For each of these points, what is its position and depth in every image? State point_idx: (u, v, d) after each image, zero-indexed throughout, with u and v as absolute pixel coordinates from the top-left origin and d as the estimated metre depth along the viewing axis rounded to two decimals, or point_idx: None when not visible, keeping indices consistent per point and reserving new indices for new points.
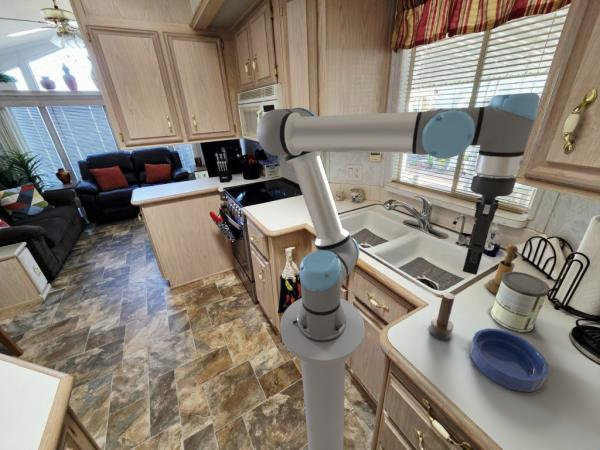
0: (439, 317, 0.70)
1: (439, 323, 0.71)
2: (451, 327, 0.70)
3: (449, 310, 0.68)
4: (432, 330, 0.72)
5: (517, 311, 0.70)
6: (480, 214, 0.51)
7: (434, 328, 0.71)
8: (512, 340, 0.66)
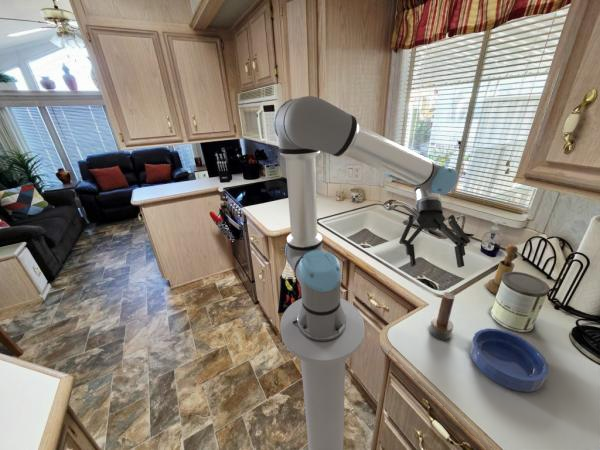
0: (439, 317, 0.70)
1: (439, 323, 0.71)
2: (451, 327, 0.70)
3: (449, 310, 0.68)
4: (432, 330, 0.72)
5: (517, 311, 0.70)
6: (407, 223, 0.82)
7: (434, 328, 0.71)
8: (512, 340, 0.66)
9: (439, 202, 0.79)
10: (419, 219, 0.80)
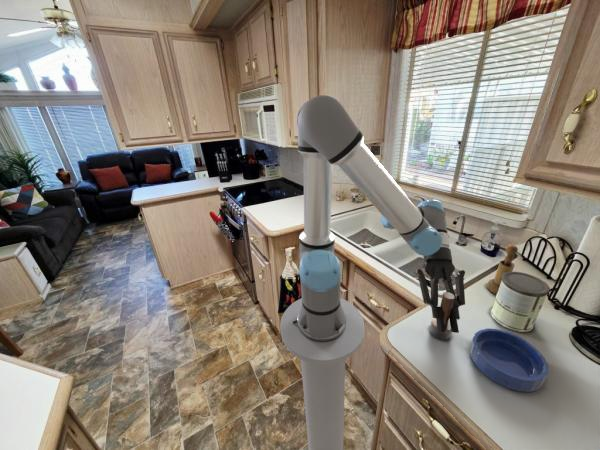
0: None
1: None
2: None
3: (449, 310, 0.68)
4: (432, 330, 0.72)
5: (517, 311, 0.70)
6: (418, 277, 0.74)
7: (434, 328, 0.71)
8: (512, 340, 0.66)
9: (448, 250, 0.72)
10: (428, 269, 0.73)
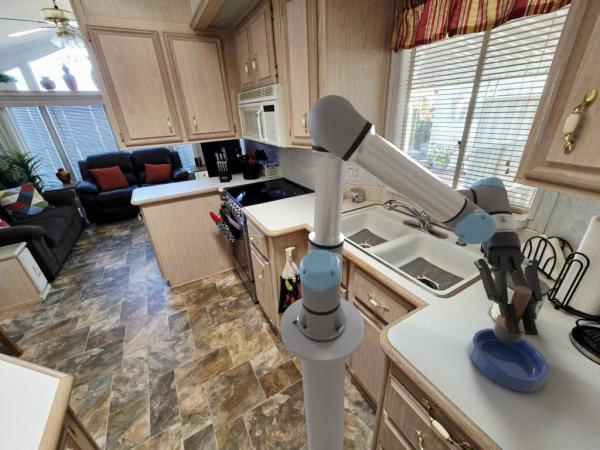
0: None
1: None
2: None
3: (524, 308, 0.55)
4: (498, 332, 0.60)
5: None
6: (479, 269, 0.62)
7: (501, 330, 0.59)
8: None
9: (517, 235, 0.60)
10: (492, 258, 0.61)
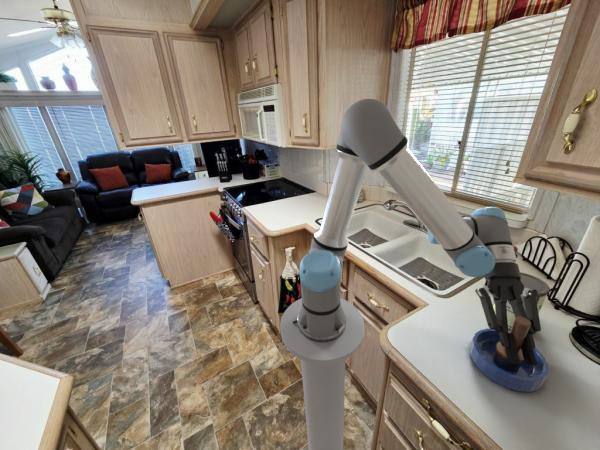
0: None
1: None
2: None
3: (523, 338, 0.58)
4: (498, 359, 0.62)
5: None
6: (480, 297, 0.64)
7: (501, 357, 0.61)
8: None
9: (517, 266, 0.62)
10: (492, 288, 0.63)
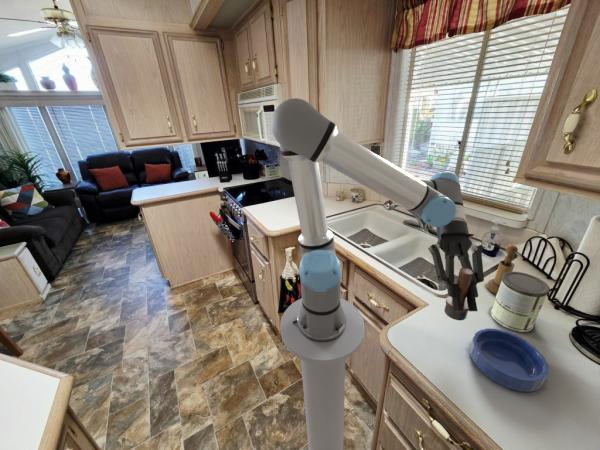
0: None
1: None
2: None
3: (467, 287, 0.62)
4: (447, 310, 0.67)
5: (517, 311, 0.70)
6: (432, 254, 0.69)
7: (449, 307, 0.66)
8: (512, 340, 0.66)
9: (465, 224, 0.67)
10: (443, 244, 0.68)
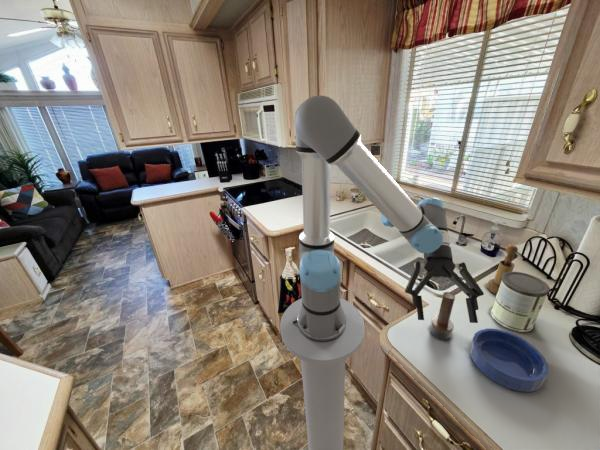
0: (439, 317, 0.70)
1: (439, 323, 0.71)
2: (451, 327, 0.70)
3: (449, 310, 0.68)
4: (432, 330, 0.72)
5: (517, 311, 0.70)
6: None
7: (434, 328, 0.71)
8: (512, 340, 0.66)
9: (449, 248, 0.72)
10: (427, 266, 0.73)
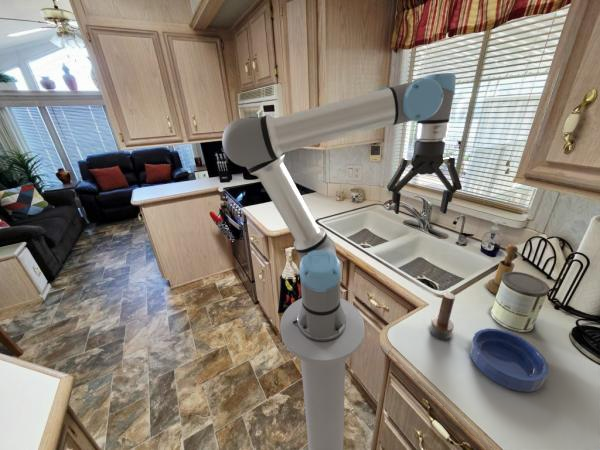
0: (439, 317, 0.70)
1: (439, 323, 0.71)
2: (451, 327, 0.70)
3: (449, 310, 0.68)
4: (432, 330, 0.72)
5: (517, 311, 0.70)
6: None
7: (434, 328, 0.71)
8: (512, 340, 0.66)
9: (442, 145, 0.65)
10: (413, 164, 0.70)
